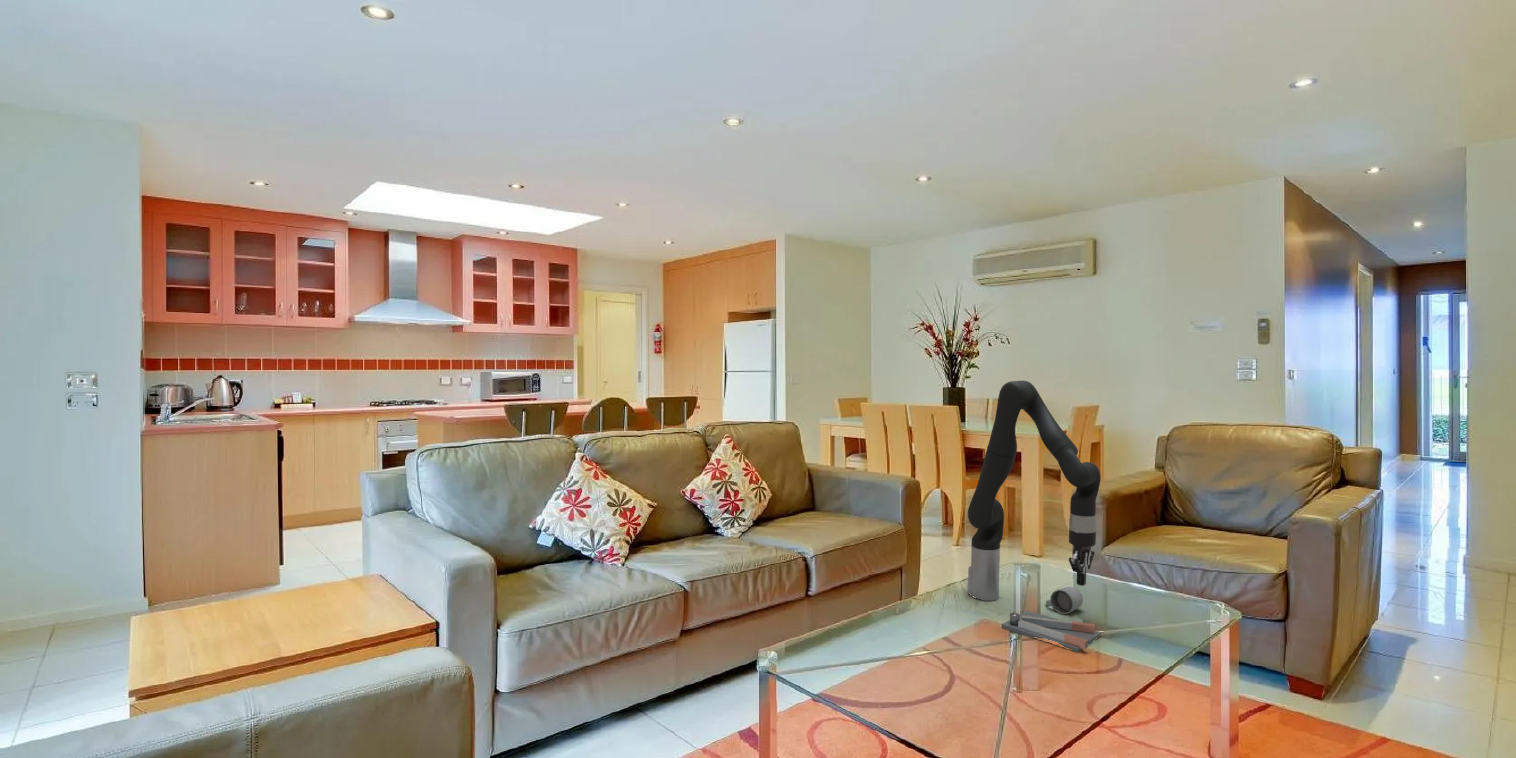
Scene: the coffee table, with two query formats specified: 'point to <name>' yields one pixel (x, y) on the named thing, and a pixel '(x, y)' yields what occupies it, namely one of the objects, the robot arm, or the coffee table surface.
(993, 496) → the robot arm
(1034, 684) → the coffee table surface
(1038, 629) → the tongs fixed arm
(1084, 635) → the board
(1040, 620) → the tongs free arm
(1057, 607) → the ceramic mug
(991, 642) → the coffee table surface
